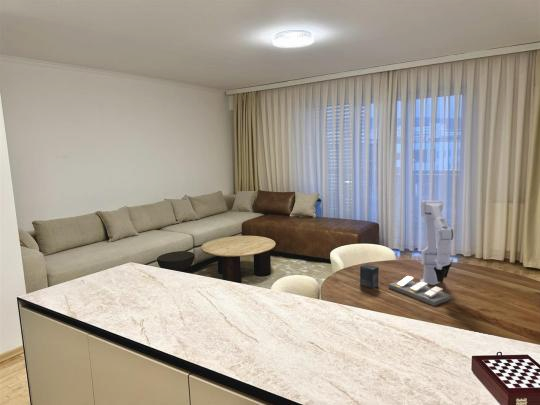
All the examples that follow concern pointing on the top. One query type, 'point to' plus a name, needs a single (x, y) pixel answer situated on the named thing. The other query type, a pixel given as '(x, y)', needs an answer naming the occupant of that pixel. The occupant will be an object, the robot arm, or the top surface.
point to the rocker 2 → (418, 286)
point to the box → (369, 275)
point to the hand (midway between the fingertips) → (442, 279)
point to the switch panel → (421, 293)
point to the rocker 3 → (433, 291)
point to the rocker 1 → (405, 281)
